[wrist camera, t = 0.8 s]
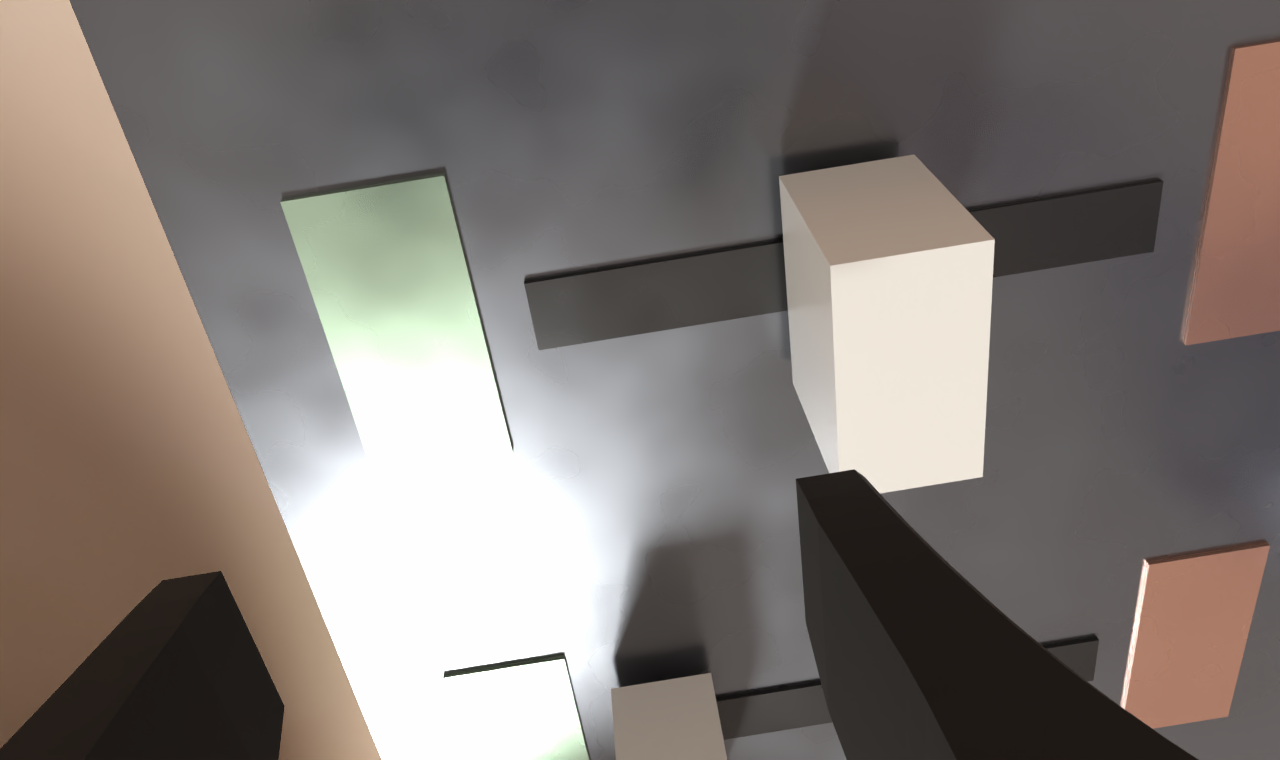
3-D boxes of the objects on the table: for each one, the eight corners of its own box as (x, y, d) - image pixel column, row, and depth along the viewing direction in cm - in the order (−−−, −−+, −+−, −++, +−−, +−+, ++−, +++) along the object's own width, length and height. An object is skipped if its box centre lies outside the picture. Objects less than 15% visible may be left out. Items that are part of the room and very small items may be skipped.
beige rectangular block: (914, 154, 15) (994, 240, 12) (913, 364, 17) (983, 476, 14) (779, 176, 15) (830, 265, 12) (792, 383, 17) (840, 499, 14)
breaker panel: (1500, -362, 14) (1638, -380, 12) (1221, 756, 27) (1270, 827, 25) (82, -135, 14) (16, -120, 12) (466, 878, 27) (461, 958, 25)
